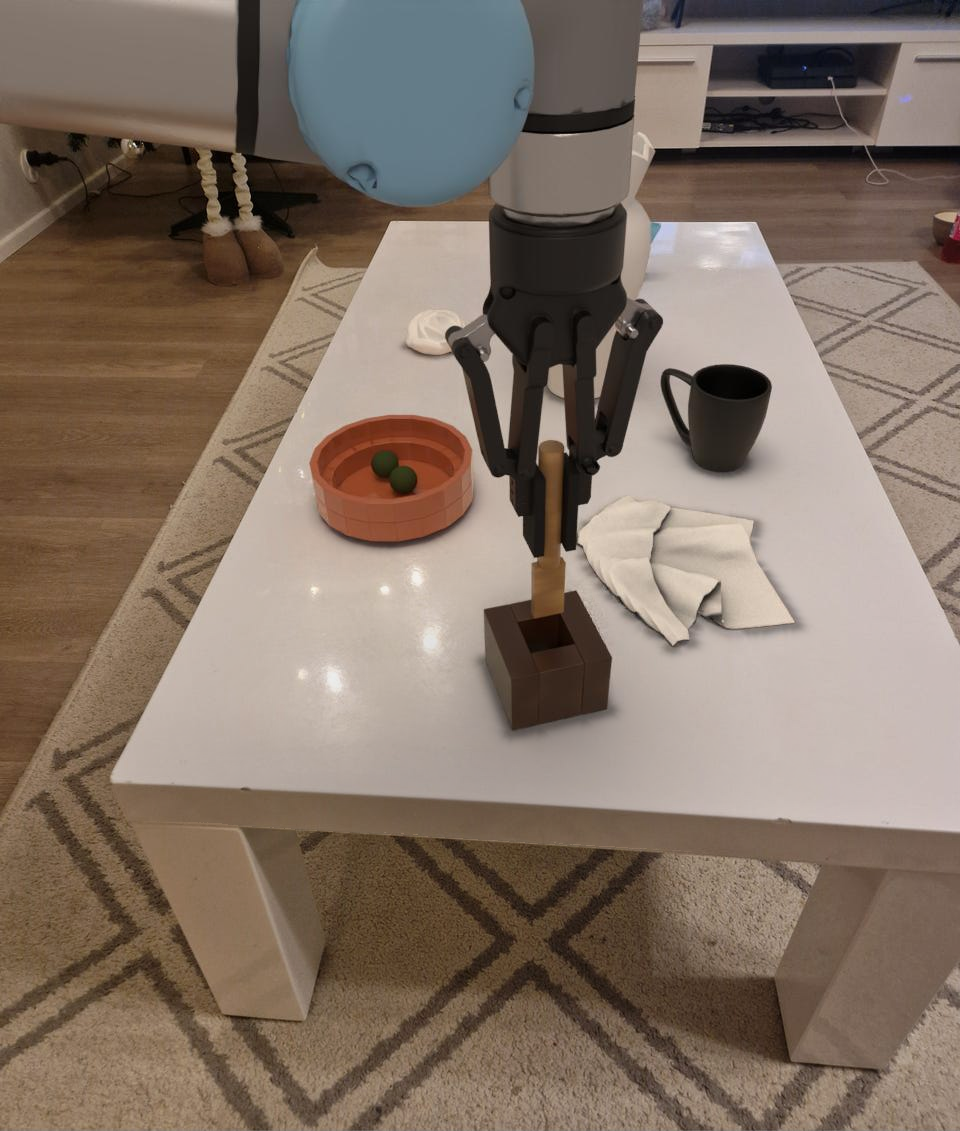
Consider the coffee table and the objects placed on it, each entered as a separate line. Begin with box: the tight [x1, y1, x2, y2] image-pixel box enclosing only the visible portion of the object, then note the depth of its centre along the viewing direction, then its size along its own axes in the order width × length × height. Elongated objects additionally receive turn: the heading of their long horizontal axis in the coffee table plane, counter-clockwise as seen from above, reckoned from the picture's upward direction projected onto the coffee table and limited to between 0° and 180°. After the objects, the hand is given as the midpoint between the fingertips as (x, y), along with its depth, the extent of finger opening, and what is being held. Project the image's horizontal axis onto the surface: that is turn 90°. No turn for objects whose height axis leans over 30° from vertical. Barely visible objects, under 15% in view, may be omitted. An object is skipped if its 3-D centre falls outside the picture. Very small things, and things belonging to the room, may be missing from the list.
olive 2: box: [389, 466, 418, 494], centre depth 91 cm, size 3×3×3 cm
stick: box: [530, 439, 567, 619], centre depth 61 cm, size 2×2×15 cm
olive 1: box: [371, 450, 399, 478], centre depth 93 cm, size 3×3×3 cm
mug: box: [659, 363, 773, 473], centre depth 94 cm, size 8×12×10 cm
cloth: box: [576, 495, 795, 646], centre depth 81 cm, size 20×22×2 cm
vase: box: [547, 131, 656, 400], centre depth 100 cm, size 15×15×29 cm
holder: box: [483, 589, 613, 732], centre depth 69 cm, size 8×8×6 cm
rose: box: [405, 309, 467, 356], centre depth 119 cm, size 10×4×10 cm
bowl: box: [308, 414, 475, 542], centre depth 90 cm, size 17×17×6 cm
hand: (549, 542), depth 62 cm, fingers closed on stick, 2 cm apart
